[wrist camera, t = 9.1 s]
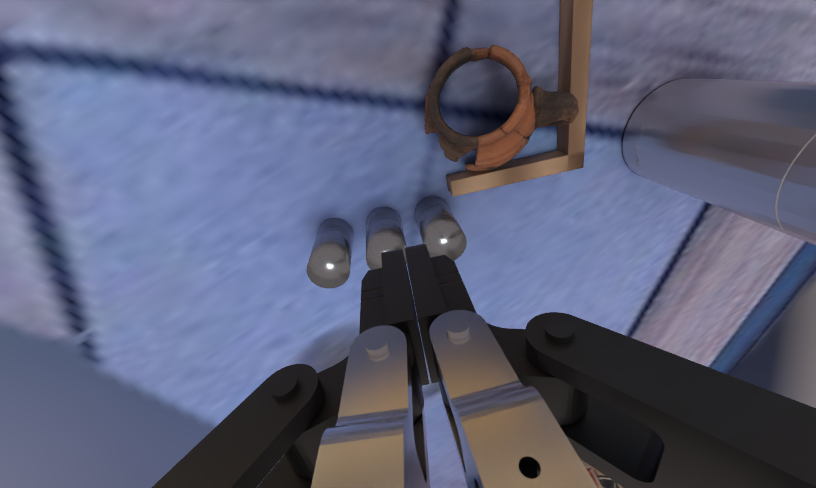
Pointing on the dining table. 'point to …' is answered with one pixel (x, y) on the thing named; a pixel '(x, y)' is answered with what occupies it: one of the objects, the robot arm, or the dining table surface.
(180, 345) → the dining table surface
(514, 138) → the pottery mug
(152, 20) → the dining table surface
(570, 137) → the walnut frame
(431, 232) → the metal posts
